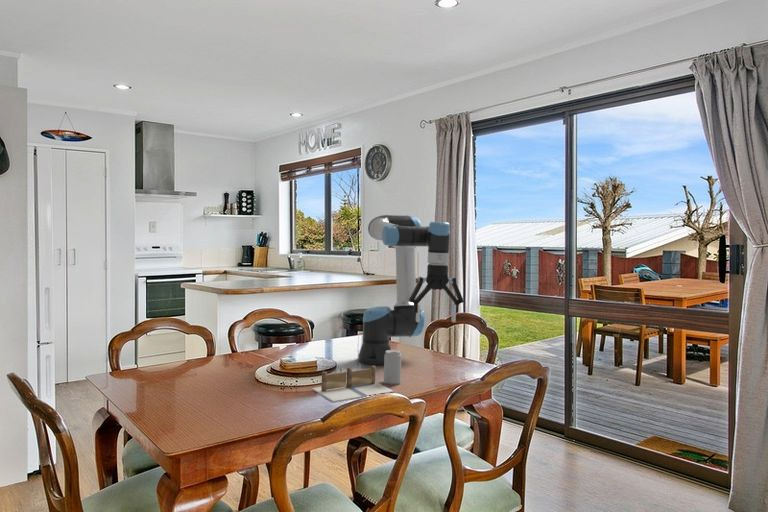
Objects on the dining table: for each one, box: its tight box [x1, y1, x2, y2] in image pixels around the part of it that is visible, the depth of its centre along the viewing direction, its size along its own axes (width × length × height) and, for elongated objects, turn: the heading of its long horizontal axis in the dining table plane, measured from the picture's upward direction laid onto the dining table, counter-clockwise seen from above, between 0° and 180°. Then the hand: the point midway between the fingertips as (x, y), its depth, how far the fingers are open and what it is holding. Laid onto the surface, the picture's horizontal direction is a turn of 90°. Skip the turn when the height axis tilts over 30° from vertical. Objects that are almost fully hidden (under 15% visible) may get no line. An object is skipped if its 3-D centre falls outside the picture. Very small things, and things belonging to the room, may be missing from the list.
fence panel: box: [320, 371, 347, 391], centre depth 191 cm, size 2×10×6 cm, turn 123°
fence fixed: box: [346, 365, 377, 388], centre depth 197 cm, size 2×12×7 cm, turn 123°
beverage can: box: [383, 349, 402, 386], centre depth 203 cm, size 6×6×12 cm
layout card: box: [311, 381, 395, 403], centre depth 192 cm, size 16×24×1 cm, turn 123°
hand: (435, 321), depth 199 cm, fingers open, 13 cm apart
